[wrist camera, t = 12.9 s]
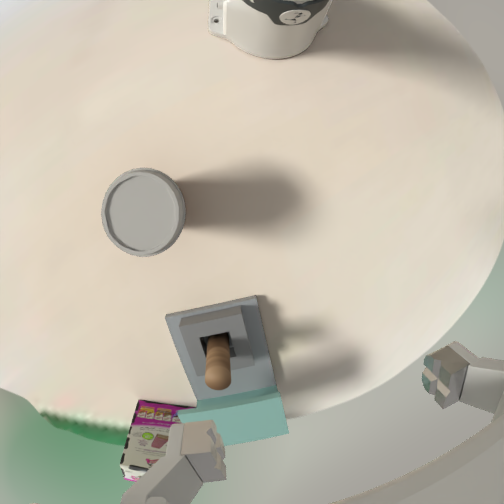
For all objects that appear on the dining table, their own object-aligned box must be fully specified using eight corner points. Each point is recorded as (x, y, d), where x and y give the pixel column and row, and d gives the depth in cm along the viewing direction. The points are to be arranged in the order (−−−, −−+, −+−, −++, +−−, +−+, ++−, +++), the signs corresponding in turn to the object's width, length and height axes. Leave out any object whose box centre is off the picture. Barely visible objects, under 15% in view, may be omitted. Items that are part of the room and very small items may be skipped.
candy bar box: (140, 416, 48) (122, 480, 33) (138, 398, 47) (117, 464, 31) (196, 424, 50) (192, 491, 34) (197, 407, 49) (192, 476, 33)
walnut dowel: (205, 330, 44) (201, 372, 33) (225, 326, 44) (227, 367, 33) (211, 348, 45) (209, 392, 34) (231, 344, 45) (234, 387, 34)
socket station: (166, 314, 44) (149, 356, 32) (255, 295, 45) (266, 333, 33) (199, 400, 48) (196, 449, 37) (276, 385, 49) (289, 433, 37)
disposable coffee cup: (141, 163, 39) (111, 157, 27) (204, 183, 40) (196, 182, 29) (123, 227, 40) (89, 243, 29) (183, 247, 42) (169, 271, 30)
